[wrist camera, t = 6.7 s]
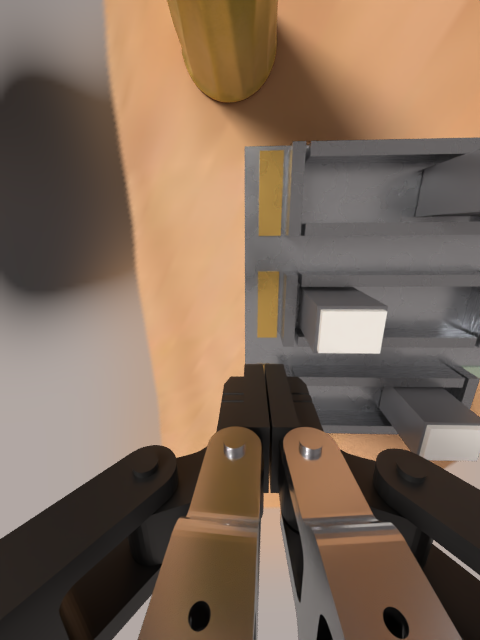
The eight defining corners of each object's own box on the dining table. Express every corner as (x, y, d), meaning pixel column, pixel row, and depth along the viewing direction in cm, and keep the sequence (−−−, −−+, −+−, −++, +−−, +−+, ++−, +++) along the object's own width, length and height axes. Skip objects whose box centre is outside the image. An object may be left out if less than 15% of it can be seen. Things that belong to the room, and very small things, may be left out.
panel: (245, 152, 19) (244, 136, 16) (532, 147, 18) (593, 129, 15) (245, 408, 26) (245, 434, 23) (453, 411, 25) (484, 438, 22)
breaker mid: (300, 287, 21) (319, 307, 15) (352, 286, 20) (391, 308, 15) (297, 323, 21) (315, 356, 16) (347, 323, 21) (382, 356, 16)
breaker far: (384, 378, 23) (428, 426, 17) (432, 379, 23) (492, 427, 17) (379, 407, 24) (419, 462, 18) (424, 408, 24) (479, 463, 18)
